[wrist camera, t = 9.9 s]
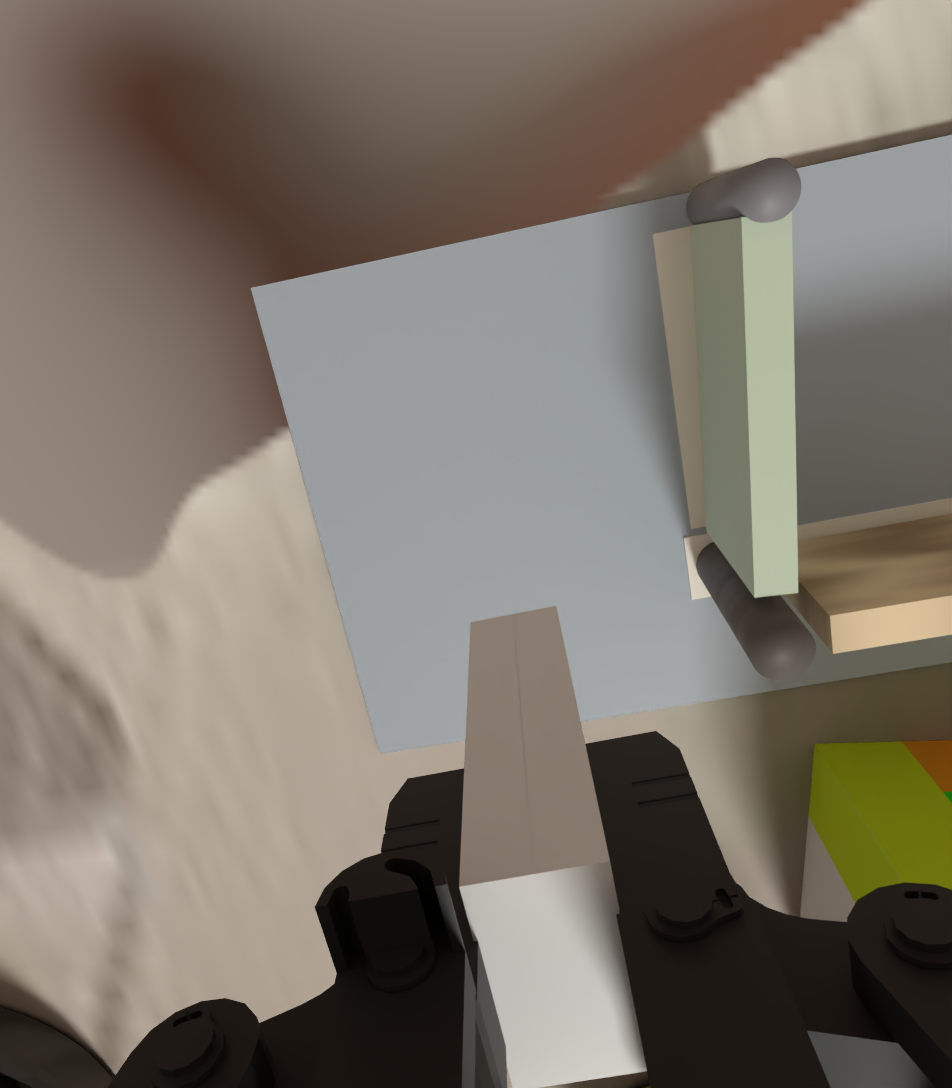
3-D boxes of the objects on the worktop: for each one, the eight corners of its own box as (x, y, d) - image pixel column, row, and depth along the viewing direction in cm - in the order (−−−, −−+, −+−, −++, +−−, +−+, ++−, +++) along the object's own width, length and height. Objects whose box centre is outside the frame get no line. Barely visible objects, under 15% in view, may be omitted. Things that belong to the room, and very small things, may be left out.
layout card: (380, 750, 34) (379, 755, 33) (253, 287, 28) (250, 287, 28) (1120, 631, 31) (1127, 635, 31) (1141, 93, 25) (1151, 91, 25)
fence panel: (684, 184, 26) (739, 162, 20) (731, 177, 26) (800, 153, 20) (703, 531, 29) (755, 603, 23) (744, 527, 29) (807, 597, 23)
